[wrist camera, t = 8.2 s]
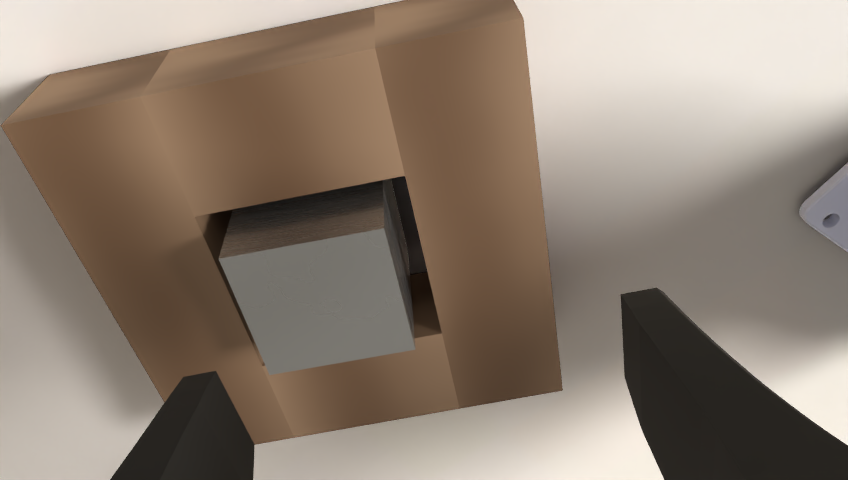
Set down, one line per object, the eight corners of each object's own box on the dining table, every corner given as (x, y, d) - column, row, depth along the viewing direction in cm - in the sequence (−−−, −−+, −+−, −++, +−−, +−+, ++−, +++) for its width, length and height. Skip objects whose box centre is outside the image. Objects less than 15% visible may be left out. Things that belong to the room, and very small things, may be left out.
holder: (502, -20, 18) (523, 18, 15) (543, 326, 25) (562, 390, 22) (49, 74, 19) (0, 125, 16) (212, 386, 25) (195, 454, 23)
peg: (381, 138, 20) (384, 228, 17) (408, 248, 23) (415, 349, 19) (246, 163, 21) (218, 258, 17) (286, 270, 23) (269, 375, 19)
